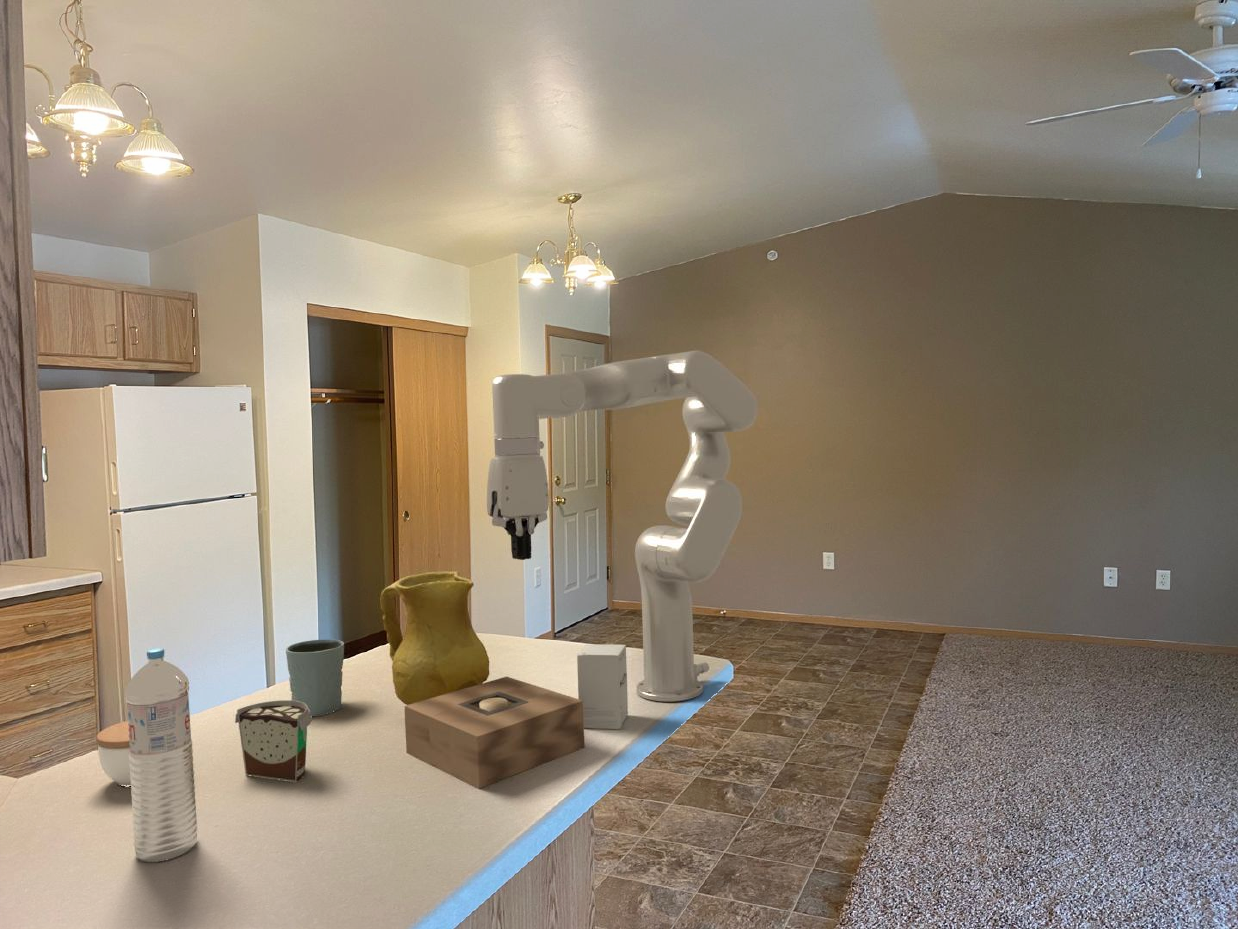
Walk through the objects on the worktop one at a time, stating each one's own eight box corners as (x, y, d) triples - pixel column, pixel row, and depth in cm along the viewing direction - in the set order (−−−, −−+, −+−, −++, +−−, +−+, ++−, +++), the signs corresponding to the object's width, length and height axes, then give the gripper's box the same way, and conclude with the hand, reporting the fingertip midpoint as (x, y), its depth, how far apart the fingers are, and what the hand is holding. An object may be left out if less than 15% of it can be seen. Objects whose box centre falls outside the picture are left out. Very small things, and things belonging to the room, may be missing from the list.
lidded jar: (99, 801, 116) (95, 736, 116) (99, 775, 125) (96, 715, 125) (184, 782, 122) (181, 719, 121) (179, 759, 131) (175, 701, 131)
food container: (332, 766, 126) (329, 702, 125) (304, 783, 120) (301, 716, 119) (267, 759, 130) (264, 696, 129) (237, 774, 124) (234, 709, 123)
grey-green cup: (276, 715, 150) (273, 650, 150) (316, 697, 160) (313, 636, 159) (320, 720, 146) (317, 654, 146) (358, 702, 156) (355, 640, 155)
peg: (498, 738, 133) (496, 696, 133) (514, 745, 130) (513, 701, 130) (475, 746, 130) (473, 703, 130) (491, 753, 127) (490, 709, 127)
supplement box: (621, 730, 137) (618, 655, 136) (578, 728, 138) (575, 654, 138) (629, 715, 144) (627, 643, 143) (588, 713, 145) (585, 643, 145)
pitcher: (423, 739, 136) (416, 589, 135) (374, 712, 150) (368, 576, 149) (510, 713, 147) (504, 574, 146) (457, 690, 161) (451, 564, 160)
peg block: (508, 718, 144) (506, 676, 144) (584, 747, 130) (582, 700, 130) (406, 752, 130) (404, 705, 130) (479, 789, 116) (477, 736, 116)
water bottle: (151, 838, 105) (140, 644, 104) (207, 834, 105) (196, 641, 104) (123, 866, 98) (111, 659, 97) (183, 862, 98) (171, 656, 97)
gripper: (538, 447, 144) (542, 551, 145) (466, 451, 134) (471, 562, 135) (566, 447, 139) (570, 554, 140) (493, 450, 129) (498, 567, 129)
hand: (521, 558), depth 137 cm, fingers closed
